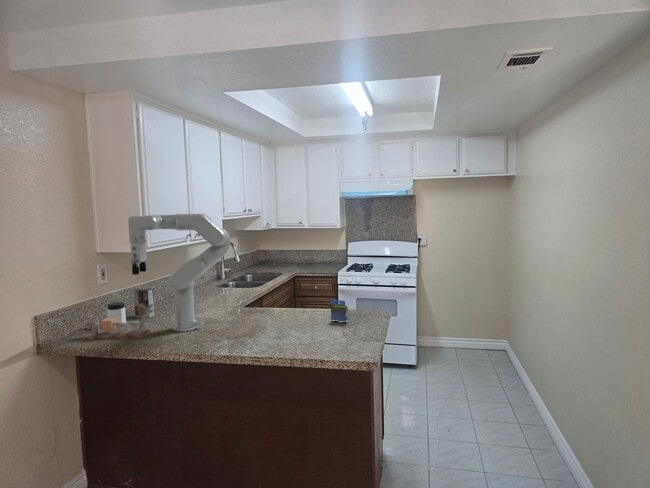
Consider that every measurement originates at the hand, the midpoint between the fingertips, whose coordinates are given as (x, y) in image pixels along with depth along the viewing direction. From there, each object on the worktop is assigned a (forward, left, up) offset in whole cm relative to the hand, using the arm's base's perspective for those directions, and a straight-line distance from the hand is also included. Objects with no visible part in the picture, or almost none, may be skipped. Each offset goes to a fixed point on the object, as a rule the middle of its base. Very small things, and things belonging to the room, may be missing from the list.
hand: (139, 272), depth 218 cm
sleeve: (+13, +9, -27) cm, 31 cm away
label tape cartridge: (-104, -2, -31) cm, 108 cm away
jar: (+18, -12, -31) cm, 37 cm away
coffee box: (+9, -29, -31) cm, 43 cm away
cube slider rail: (+8, +9, -30) cm, 33 cm away
